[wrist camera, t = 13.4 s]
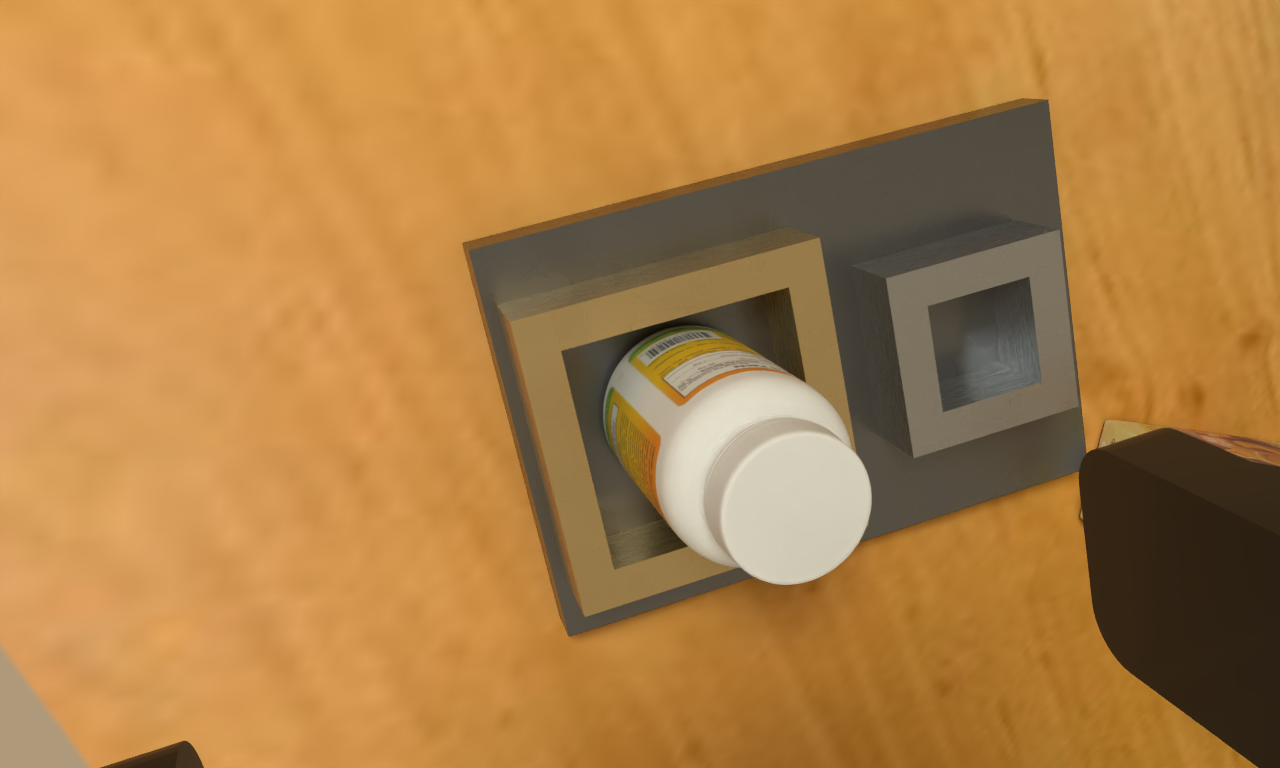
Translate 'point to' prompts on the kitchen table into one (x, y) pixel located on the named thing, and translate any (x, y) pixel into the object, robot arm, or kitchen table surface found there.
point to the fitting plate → (798, 334)
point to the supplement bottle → (737, 455)
